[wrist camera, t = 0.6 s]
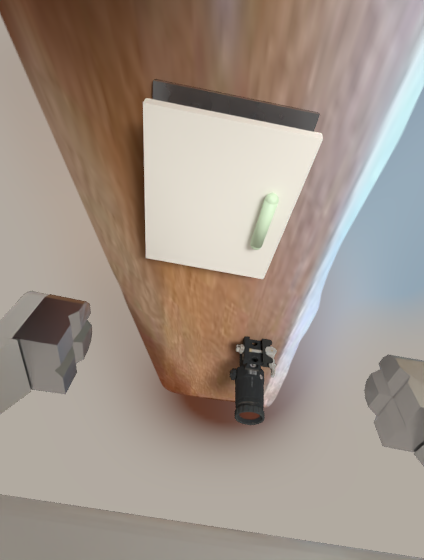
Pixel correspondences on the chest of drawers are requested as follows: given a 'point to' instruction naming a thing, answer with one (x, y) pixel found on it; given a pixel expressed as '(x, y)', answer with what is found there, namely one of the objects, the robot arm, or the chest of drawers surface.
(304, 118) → the stage base
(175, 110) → the panel
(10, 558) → the robot arm
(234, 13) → the chest of drawers surface
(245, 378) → the scope
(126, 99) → the chest of drawers surface
